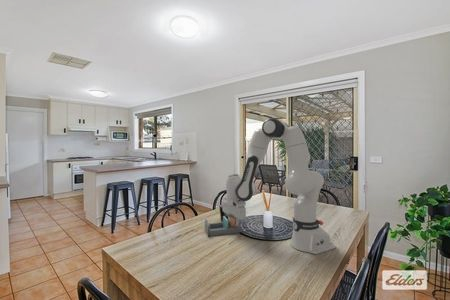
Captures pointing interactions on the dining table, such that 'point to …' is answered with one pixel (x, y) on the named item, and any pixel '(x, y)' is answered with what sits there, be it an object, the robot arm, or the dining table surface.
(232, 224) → the jar
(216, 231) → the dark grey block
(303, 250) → the robot arm
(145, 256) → the dining table surface
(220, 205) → the coffee mug
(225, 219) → the pusher
